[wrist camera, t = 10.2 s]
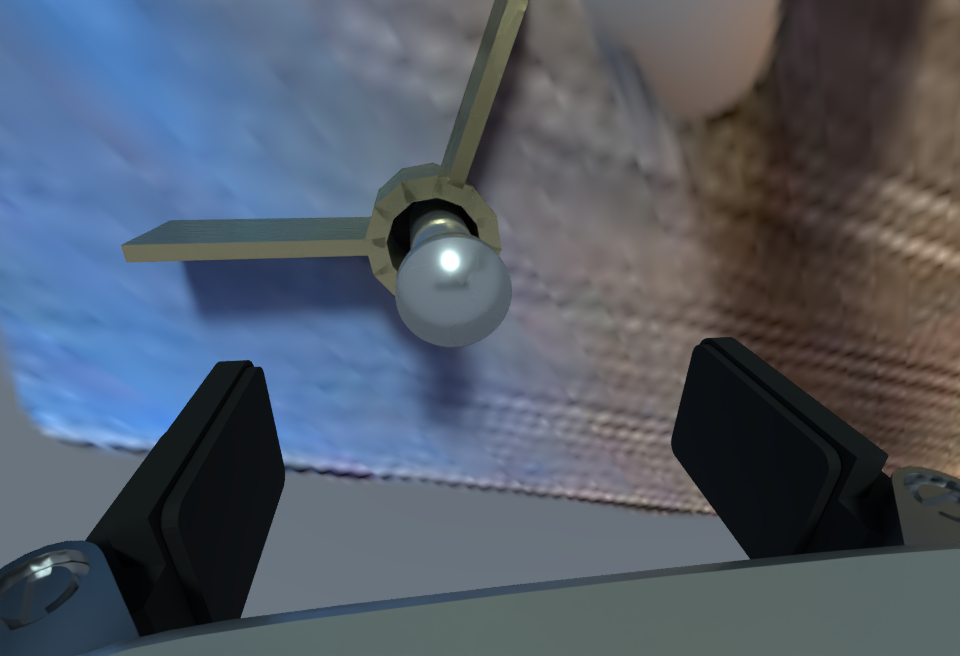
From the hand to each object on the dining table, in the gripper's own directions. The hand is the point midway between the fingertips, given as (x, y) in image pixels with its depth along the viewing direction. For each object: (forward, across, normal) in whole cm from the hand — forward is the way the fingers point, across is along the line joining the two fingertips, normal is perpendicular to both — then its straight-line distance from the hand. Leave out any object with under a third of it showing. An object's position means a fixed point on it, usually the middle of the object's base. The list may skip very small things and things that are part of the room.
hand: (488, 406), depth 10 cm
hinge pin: (+19, 0, 0) cm, 19 cm away
